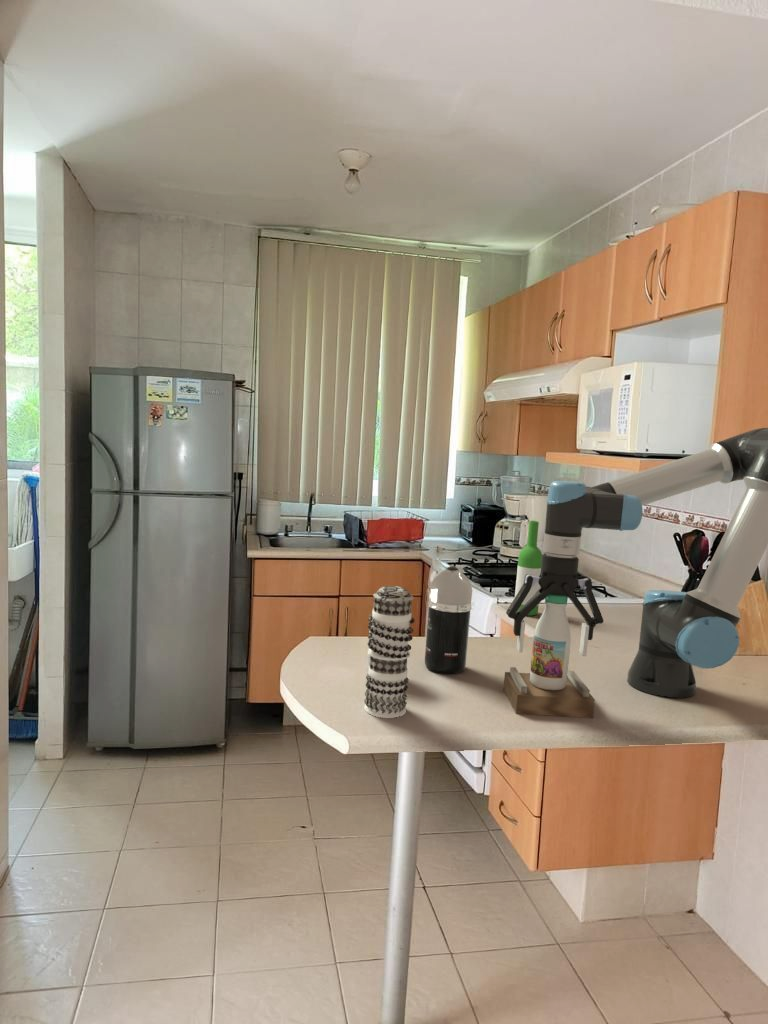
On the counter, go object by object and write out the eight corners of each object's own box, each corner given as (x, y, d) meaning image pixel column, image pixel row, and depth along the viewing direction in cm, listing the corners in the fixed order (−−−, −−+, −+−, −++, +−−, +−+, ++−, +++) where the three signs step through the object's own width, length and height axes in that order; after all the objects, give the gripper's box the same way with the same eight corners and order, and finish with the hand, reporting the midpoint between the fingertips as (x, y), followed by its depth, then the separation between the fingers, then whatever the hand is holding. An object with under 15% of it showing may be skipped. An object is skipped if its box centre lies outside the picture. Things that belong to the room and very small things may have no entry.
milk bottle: (539, 676, 162) (548, 588, 160) (572, 685, 157) (581, 595, 155) (522, 684, 156) (531, 592, 154) (555, 694, 151) (565, 600, 149)
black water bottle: (428, 675, 170) (436, 569, 167) (419, 660, 180) (427, 561, 177) (471, 675, 171) (480, 571, 168) (459, 661, 181) (468, 562, 178)
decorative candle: (379, 697, 154) (387, 581, 151) (416, 709, 148) (425, 589, 146) (353, 709, 146) (361, 587, 143) (391, 722, 141) (400, 596, 138)
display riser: (573, 693, 164) (576, 669, 164) (592, 717, 150) (595, 692, 150) (503, 689, 164) (505, 665, 163) (515, 713, 150) (518, 687, 149)
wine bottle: (509, 610, 238) (517, 519, 234) (531, 610, 240) (540, 520, 236) (519, 616, 230) (527, 522, 227) (541, 616, 232) (550, 523, 229)
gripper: (505, 553, 149) (496, 654, 152) (625, 561, 150) (614, 661, 152) (498, 547, 157) (490, 643, 159) (613, 555, 157) (603, 650, 160)
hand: (551, 652), depth 156 cm, fingers open, 13 cm apart
